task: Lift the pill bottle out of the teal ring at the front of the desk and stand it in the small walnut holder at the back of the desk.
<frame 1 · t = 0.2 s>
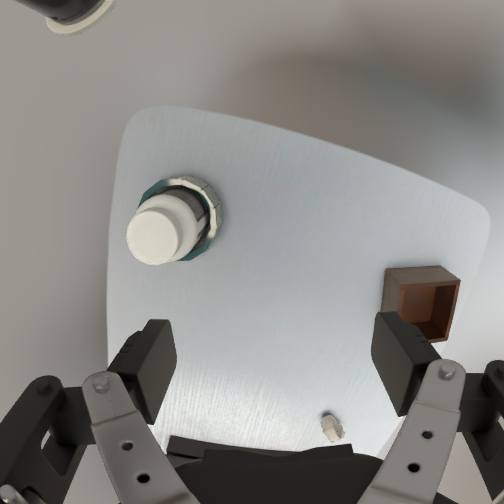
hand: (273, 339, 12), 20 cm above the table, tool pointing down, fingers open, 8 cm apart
holder: (410, 297, 33), on the table
dark grey flat block: (238, 489, 45), on the table
teal ring: (184, 213, 31), on the table
pill bottle: (184, 213, 31), resting in teal ring
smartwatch: (330, 417, 38), on the table
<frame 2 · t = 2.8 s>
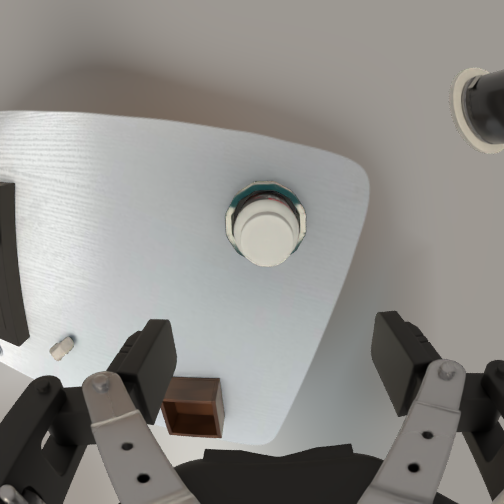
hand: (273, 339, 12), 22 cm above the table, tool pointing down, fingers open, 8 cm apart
holder: (196, 397, 40), on the table
teal ring: (265, 217, 33), on the table
pill bottle: (265, 216, 33), resting in teal ring
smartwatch: (69, 341, 38), on the table
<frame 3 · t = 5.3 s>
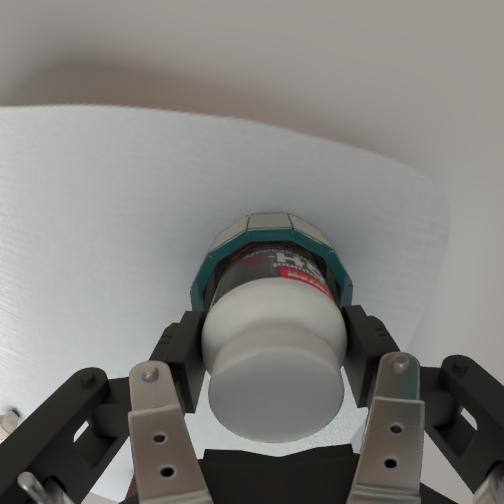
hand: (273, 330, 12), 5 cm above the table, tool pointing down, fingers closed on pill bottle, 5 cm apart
teal ring: (270, 279, 18), on the table
pill bottle: (270, 278, 18), resting in teal ring, touching gripper
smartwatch: (14, 413, 24), on the table
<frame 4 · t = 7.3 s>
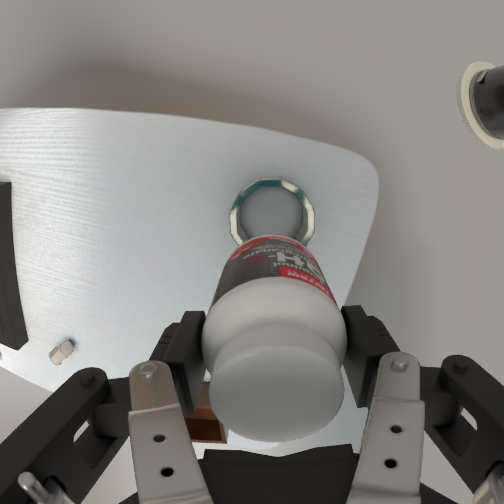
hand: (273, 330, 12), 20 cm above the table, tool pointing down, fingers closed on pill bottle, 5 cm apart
holder: (200, 401, 39), on the table
teal ring: (271, 214, 31), on the table
pill bottle: (270, 277, 18), point 14 cm above the table, touching gripper
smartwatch: (68, 344, 37), on the table
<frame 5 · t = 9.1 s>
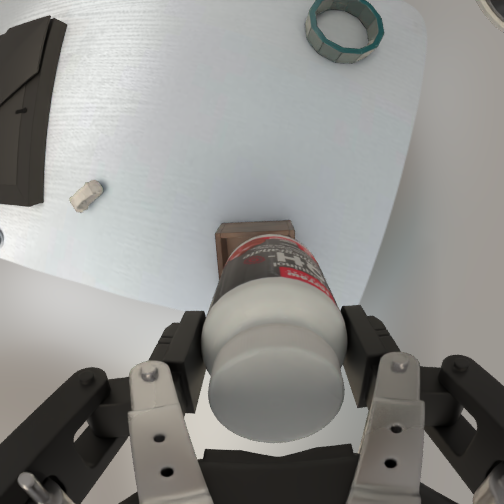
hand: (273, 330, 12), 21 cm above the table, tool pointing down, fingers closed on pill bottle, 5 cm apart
holder: (257, 254, 34), on the table
teal ring: (340, 32, 27), on the table
pill bottle: (270, 277, 18), point 16 cm above the table, touching gripper
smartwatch: (95, 193, 33), on the table
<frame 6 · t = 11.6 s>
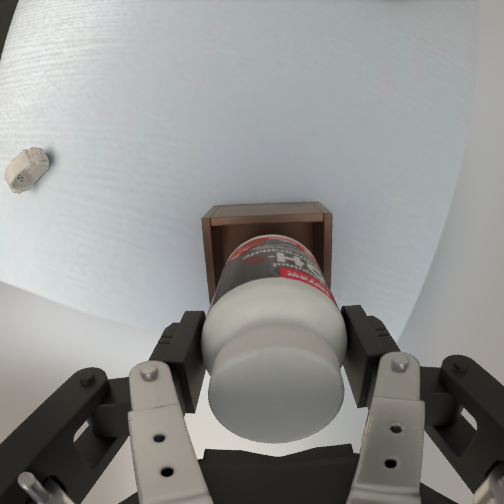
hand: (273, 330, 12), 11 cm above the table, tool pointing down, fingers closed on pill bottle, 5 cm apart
holder: (268, 254, 23), on the table
pill bottle: (270, 278, 18), point 5 cm above the table, touching gripper
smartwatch: (42, 168, 21), on the table
when the fingers open (6 cm above the table, at t = 13.3 s): pill bottle stays where it is, resting on holder.
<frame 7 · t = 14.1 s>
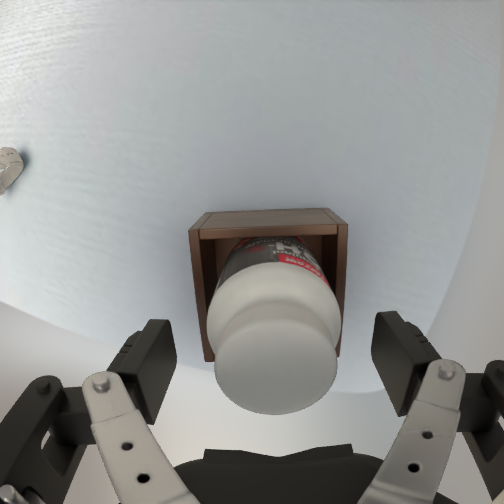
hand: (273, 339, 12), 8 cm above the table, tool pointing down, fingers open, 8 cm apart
holder: (269, 268, 19), on the table
pill bottle: (270, 268, 19), resting on holder
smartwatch: (17, 170, 18), on the table
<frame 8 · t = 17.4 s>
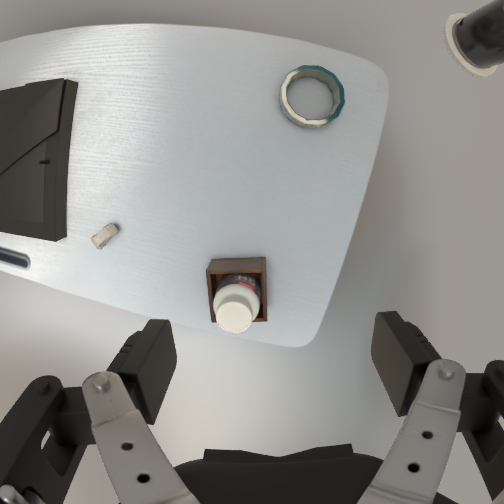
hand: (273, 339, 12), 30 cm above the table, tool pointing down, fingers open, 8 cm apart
holder: (239, 283, 44), on the table
dark grey flat block: (7, 159, 39), on the table
teal ring: (309, 99, 36), on the table
pill bottle: (240, 283, 43), resting on holder
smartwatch: (111, 232, 42), on the table
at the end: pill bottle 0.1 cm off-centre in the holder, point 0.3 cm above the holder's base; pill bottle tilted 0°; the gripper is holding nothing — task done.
